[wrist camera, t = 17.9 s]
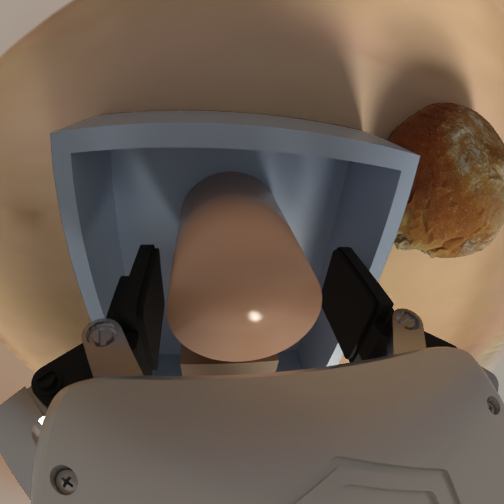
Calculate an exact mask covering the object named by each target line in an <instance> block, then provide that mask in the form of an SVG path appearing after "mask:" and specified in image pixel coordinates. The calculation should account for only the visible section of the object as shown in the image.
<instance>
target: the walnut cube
mask: <svg viewBox="0 0 504 504" xmlns="http://www.w3.org/2000/svg"><path fill="white" fill-rule="evenodd" d="M278 362H279V358H278V355H277V354H275V355H272V356H269V357H266V358H262V359H258V360H252V361H243V362H229V361H220V360H215V359H211V358H207V357H204V356H202V355H199V354H197V353H195V352H193V351H191V350H190V349H188V348H187V347H185V346H184V345H183V344H182V343H181V358H180V365H181V371H182V376H220V375H243V374H259V373H272V372H276V369H277V366H278Z"/></svg>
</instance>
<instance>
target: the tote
mask: <svg viewBox="0 0 504 504" xmlns="http://www.w3.org/2000/svg"><path fill="white" fill-rule="evenodd" d="M50 138H51V151H52V161H53V170H54V178H55V185H56V192H57V198H58V204H59V209H60V214H61V219H62V224H63V229H64V233H65V238H66V242H67V246H68V250H69V254H70V258H71V261H72V265H73V268H74V272H75V275H76V279H77V282H78V285H79V288H80V291H81V294H82V297H83V300H84V303H85V306H86V309H87V312H88V314H89V317H90V320H91V322H92V321H94V320H97V319H102V318H106V316H107V313H108V310H109V307H110V304H111V301H112V298H113V295H114V292H115V290H116V287H117V284H118V282H119V279H120V277H121V276H129V275H130V272H131V269H132V266H133V263H134V260H135V258H136V255H137V252H138V250H139V247H140V245H154V246H155V248H159V251H160V262H161V273H162V282H163V291H164V300H165V307H164V315H163V322H162V330H161V339H160V348H159V358H158V368H157V370H153V371H152V376H182V371H181V365H180V358H181V342H180V341H179V340H178V339H177V338H176V337H175V335H174V334H173V332H172V331H171V329H170V326H169V324H168V320H167V312H166V308H167V300H168V292H169V284H170V277H171V270H172V263H173V256H174V250H175V244H176V238H177V232H178V226H179V220H180V215H181V210H182V205H183V202H184V200H185V198H186V196H187V194H188V193H189V191H190V190H191V189H192V188H193V187H194V186H195V185H196V184H197V183H198V182H200V181H201V180H203V179H204V178H206V177H208V176H210V175H213V174H216V173H220V172H228V171H234V172H241V173H245V174H248V175H251V176H253V177H255V178H257V179H258V180H260V181H261V182H262V183H263V184H264V185H265V186H266V187H267V188H268V189H269V190H270V192H271V194H272V195H273V197H274V199H275V201H276V203H277V204H278V206H279V208H280V210H281V212H282V213H283V215H284V217H285V219H286V221H287V223H288V224H289V226H290V228H291V230H292V232H293V234H294V236H295V238H296V239H297V241H298V243H299V245H300V247H301V249H302V251H303V253H304V255H305V256H306V258H307V260H308V262H309V264H310V266H311V268H312V270H313V272H314V274H315V276H316V278H317V280H318V282H319V284H320V287H321V291H322V288H323V285H324V281H325V278H326V274H327V271H328V267H329V264H330V260H331V256H332V253H333V251H334V250H336V249H337V248H338V247H351V248H352V249H353V251H354V252H355V253H356V254H357V256H358V257H359V258H360V260H361V261H362V262H363V263H364V265H365V266H366V267H367V269H368V270H369V271H370V272H371V274H372V275H373V276H374V278H375V279H376V280H377V282H378V281H379V278H380V276H381V274H382V271H383V269H384V266H385V264H386V261H387V259H388V256H389V253H390V251H391V248H392V245H393V243H394V240H395V237H396V234H397V232H398V229H399V226H400V223H401V220H402V217H403V214H404V211H405V208H406V205H407V201H408V198H409V195H410V192H411V188H412V185H413V181H414V178H415V174H416V170H417V166H418V163H419V159H420V155H418V154H416V153H413V152H411V151H409V150H407V149H405V148H403V147H401V146H398V145H396V144H394V143H391V142H389V141H387V140H384V139H382V138H380V137H377V136H375V135H372V134H370V133H367V132H365V131H362V130H357V129H353V128H348V127H343V126H338V125H333V124H327V123H322V122H316V121H309V120H303V119H296V118H289V117H281V116H272V115H263V114H252V113H239V112H222V111H144V112H128V113H115V114H105V115H98V116H95V117H92V118H89V119H86V120H83V121H81V122H78V123H75V124H72V125H70V126H67V127H65V128H62V129H60V130H57V131H55V132H52V133H50ZM277 355H278V358H279V362H278V366H277V369H276V372H283V371H293V370H302V369H310V368H318V367H325V366H332V365H338V363H339V361H340V360H341V358H342V356H343V352H342V350H341V348H340V346H339V343H338V341H337V339H336V337H335V335H334V332H333V330H332V328H331V326H330V324H329V322H328V320H327V317H326V315H325V313H324V311H323V309H322V307H321V310H320V313H319V316H318V318H317V320H316V322H315V323H314V325H313V327H312V328H311V329H310V330H309V332H308V333H307V334H306V335H305V336H304V337H303V338H301V339H300V340H299V341H298V342H296V343H295V344H294V345H292V346H291V347H289V348H287V349H285V350H283V351H281V352H279V353H277Z"/></svg>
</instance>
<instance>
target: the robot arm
mask: <svg viewBox="0 0 504 504" xmlns="http://www.w3.org/2000/svg"><path fill="white" fill-rule="evenodd" d="M393 305H394V304H393V302H392V301H391V299H390V298H389V297H388V295H387V294H386V293H385V291H384V290H383V288H382V287H381V286H380V284H379V283H378V282H377V280H376V279H375V278H374V276H373V275H372V274H371V272H370V271H369V270H368V269H367V267H366V266H365V265H364V263H363V262H362V261H361V260H360V258H359V257H358V256H357V254H356V253H355V252H354V251H353V249H352V248H351V247H338V248H337V249H336V250H334V251H333V253H332V256H331V260H330V264H329V267H328V271H327V274H326V278H325V281H324V285H323V288H322V306H321V307H322V309H323V311H324V313H325V315H326V317H327V320H328V322H329V324H330V326H331V328H332V330H333V332H334V335H335V337H336V339H337V341H338V343H339V346H340V348H341V350H342V352H343V354H344V357H345V358H346V359H349V361H350V363H345V364H339V365H332V366H325V367H318V368H310V369H302V370H293V371H283V372H272V373H259V374H243V375H220V376H152V371H153V370H157V368H158V358H159V348H160V339H161V330H162V322H163V315H164V307H165V300H164V291H163V282H162V273H161V262H160V251H159V248H155V246H154V245H140V247H139V250H138V252H137V255H136V258H135V260H134V263H133V266H132V269H131V272H130V275H129V276H121V277H120V279H119V282H118V284H117V287H116V290H115V292H114V295H113V298H112V301H111V304H110V307H109V310H108V313H107V316H106V318H102V319H97V320H94V321H92V322H91V323H89V324H88V325H87V326H86V327H85V328H84V330H83V333H82V341H83V343H82V344H80V345H79V346H77V347H75V348H74V349H72V350H70V351H68V352H67V353H65V354H63V355H62V356H60V357H58V358H57V359H55V360H53V361H52V362H50V363H48V364H47V365H45V366H43V367H42V368H40V369H39V370H38V371H37V372H36V373H35V374H34V376H33V379H32V383H31V386H30V387H29V388H28V389H27V388H26V387H23V388H22V389H21V390H19V391H18V392H17V393H15V394H14V395H13V396H11V397H10V398H9V399H8V400H6V401H5V402H4V403H2V404H1V405H0V453H1V455H2V456H3V458H4V460H5V462H6V463H7V465H8V467H9V468H10V470H11V471H12V473H13V475H14V476H15V478H16V480H17V481H18V483H19V484H20V486H21V487H22V489H23V490H24V491H25V493H26V494H27V496H28V497H29V498H30V500H31V504H504V403H503V401H502V400H501V398H500V396H499V394H498V380H497V378H496V377H495V375H494V374H493V373H491V372H490V371H488V370H486V369H485V368H483V367H481V366H480V365H479V363H478V362H477V361H476V360H475V359H474V358H473V356H471V355H470V354H469V353H468V352H466V351H464V350H462V349H458V348H457V347H456V346H454V345H452V344H450V343H448V342H446V341H444V340H442V339H439V338H437V337H435V336H433V335H431V334H429V333H427V332H425V331H424V328H423V323H422V320H421V319H420V317H419V316H418V315H417V314H416V313H414V312H412V311H410V310H408V309H397V310H395V311H394V310H393V308H392V307H393ZM73 471H74V472H73Z"/></svg>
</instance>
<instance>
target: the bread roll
mask: <svg viewBox="0 0 504 504" xmlns="http://www.w3.org/2000/svg"><path fill="white" fill-rule="evenodd" d="M388 141H389V142H391V143H394V144H396V145H398V146H401V147H403V148H405V149H407V150H409V151H411V152H413V153H416V154H418V155H420V159H419V163H418V166H417V170H416V174H415V178H414V181H413V185H412V188H411V192H410V195H409V198H408V201H407V205H406V208H405V211H404V214H403V217H402V220H401V223H400V226H399V229H398V232H397V237H396V239H395V240H394V244H395V246H396V248H397V249H402V250H411V249H418V250H421V252H424V253H428V254H429V255H430V257H431V258H434V257H439V258H452V257H461V256H466V255H469V254H473V253H475V252H477V251H481V250H483V249H484V248H485V247H486V246H487V245H489V244H490V243H491V241H492V240H493V238H495V237H496V235H497V234H498V232H499V230H500V229H501V227H502V225H503V223H504V143H503V142H502V140H501V138H500V137H499V135H498V134H497V133H496V131H495V129H494V128H493V127H492V126H491V125H490V123H489V122H488V121H487V120H486V119H485V118H483V117H482V116H481V115H480V114H478V113H477V112H476V111H474V110H472V109H469V108H467V107H464V106H461V105H457V104H453V103H436V104H432V105H429V106H427V107H425V108H424V109H423V110H419V111H418V112H417V113H416V114H415V115H412V116H411V117H409V118H408V119H407V120H406V121H405V122H403V123H402V124H400V125H399V126H398V127H397V128H396V129H395V130H394V131H393V133H392V135H391V137H390V138H389V140H388Z"/></svg>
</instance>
